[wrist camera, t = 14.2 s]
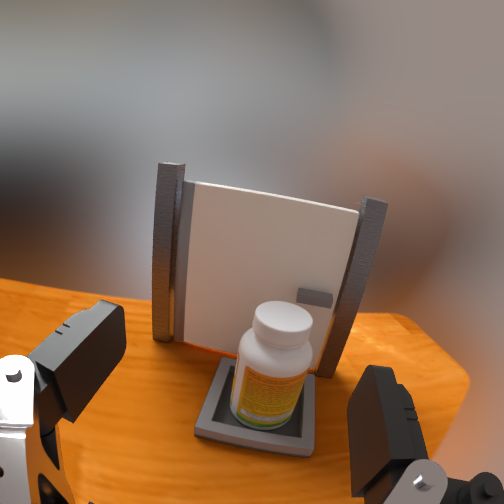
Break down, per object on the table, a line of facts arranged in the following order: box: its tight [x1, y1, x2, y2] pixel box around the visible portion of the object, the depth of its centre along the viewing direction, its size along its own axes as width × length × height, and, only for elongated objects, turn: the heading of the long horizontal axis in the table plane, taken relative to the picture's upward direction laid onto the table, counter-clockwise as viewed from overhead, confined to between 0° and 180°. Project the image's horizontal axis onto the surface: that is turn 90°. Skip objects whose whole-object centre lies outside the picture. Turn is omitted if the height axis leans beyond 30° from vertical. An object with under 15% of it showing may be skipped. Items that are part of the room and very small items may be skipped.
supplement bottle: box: [230, 301, 313, 430], centre depth 22 cm, size 5×5×10 cm
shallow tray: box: [194, 357, 315, 458], centre depth 24 cm, size 9×9×1 cm
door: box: [173, 180, 359, 369], centre depth 27 cm, size 15×3×16 cm, turn 81°
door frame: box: [152, 162, 388, 378], centre depth 27 cm, size 19×2×18 cm, turn 81°
